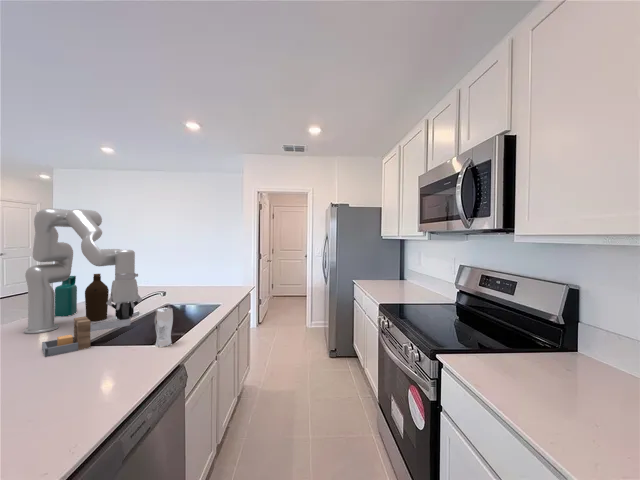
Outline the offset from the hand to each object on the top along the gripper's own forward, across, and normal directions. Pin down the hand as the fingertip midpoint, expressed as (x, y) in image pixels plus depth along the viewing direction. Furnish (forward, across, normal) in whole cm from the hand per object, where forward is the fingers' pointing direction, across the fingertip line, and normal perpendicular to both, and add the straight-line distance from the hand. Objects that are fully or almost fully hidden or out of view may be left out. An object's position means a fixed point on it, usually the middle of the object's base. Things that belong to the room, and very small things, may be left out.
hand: (124, 316), depth 140 cm
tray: (+9, +22, 0) cm, 24 cm away
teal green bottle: (+10, +12, -69) cm, 71 cm away
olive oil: (+10, +2, -45) cm, 46 cm away
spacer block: (+7, +19, 0) cm, 20 cm away
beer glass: (+9, -9, +22) cm, 26 cm away
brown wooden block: (+9, +15, 0) cm, 18 cm away
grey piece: (+4, +8, 0) cm, 8 cm away
